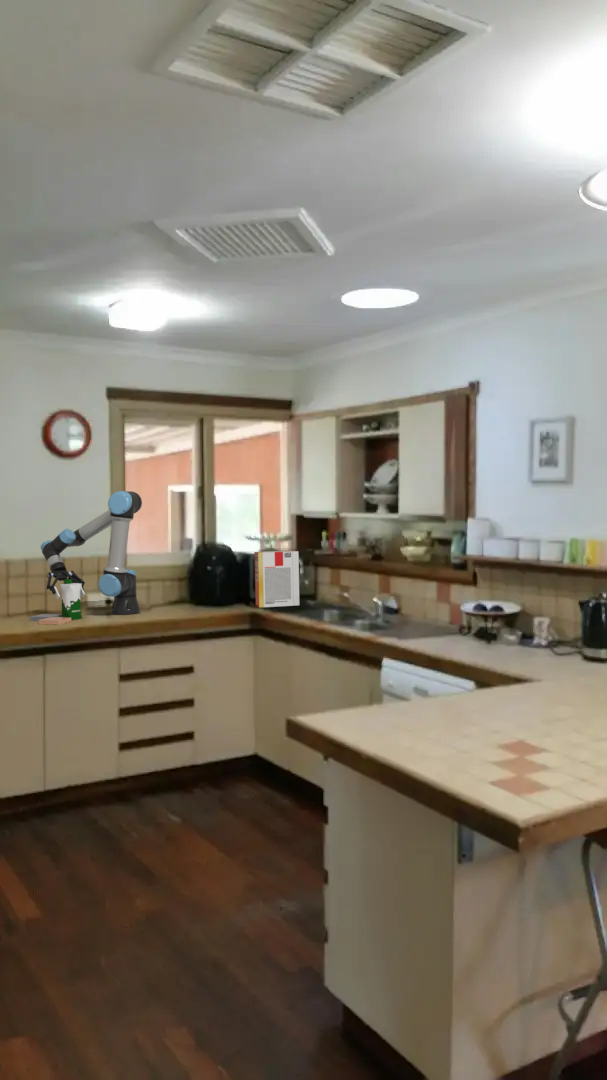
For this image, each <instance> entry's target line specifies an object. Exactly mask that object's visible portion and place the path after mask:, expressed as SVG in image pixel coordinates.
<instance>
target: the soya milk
mask: <svg viewBox="0 0 607 1080" xmlns="http://www.w3.org/2000/svg"><path fill="white" fill-rule="evenodd" d="M81 585H82V584H79V583H72V579H68V578H67V579H65V580H64V581H63V583H60V584H59V587H60V592H61V614H62V617H71V621H75V620H74V619H76V620H81V619H80V618H82V619H83V616H82V607H81V605H82V604H81V603H82V601H81V599H82V597H81V594H80V591H81Z"/></svg>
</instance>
